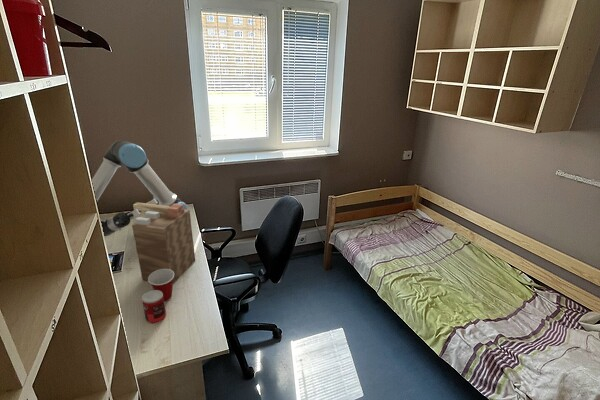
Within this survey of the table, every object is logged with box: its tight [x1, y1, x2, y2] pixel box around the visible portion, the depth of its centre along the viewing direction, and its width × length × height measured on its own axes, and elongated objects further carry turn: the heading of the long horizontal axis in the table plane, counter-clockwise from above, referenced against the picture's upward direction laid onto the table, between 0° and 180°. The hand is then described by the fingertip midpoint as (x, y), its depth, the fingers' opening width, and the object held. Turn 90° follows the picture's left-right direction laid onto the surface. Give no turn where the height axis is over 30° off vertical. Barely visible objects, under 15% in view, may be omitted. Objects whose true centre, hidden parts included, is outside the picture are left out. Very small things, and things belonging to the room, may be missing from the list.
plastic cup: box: [147, 269, 174, 303], centre depth 145 cm, size 11×11×12 cm
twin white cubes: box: [134, 211, 160, 226], centre depth 152 cm, size 9×6×2 cm, turn 168°
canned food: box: [141, 289, 167, 324], centre depth 134 cm, size 8×8×11 cm
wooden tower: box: [131, 209, 196, 285], centre depth 162 cm, size 22×16×30 cm
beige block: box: [132, 202, 184, 217], centre depth 161 cm, size 6×25×4 cm, turn 78°
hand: (147, 205), depth 162 cm, fingers open, 13 cm apart
